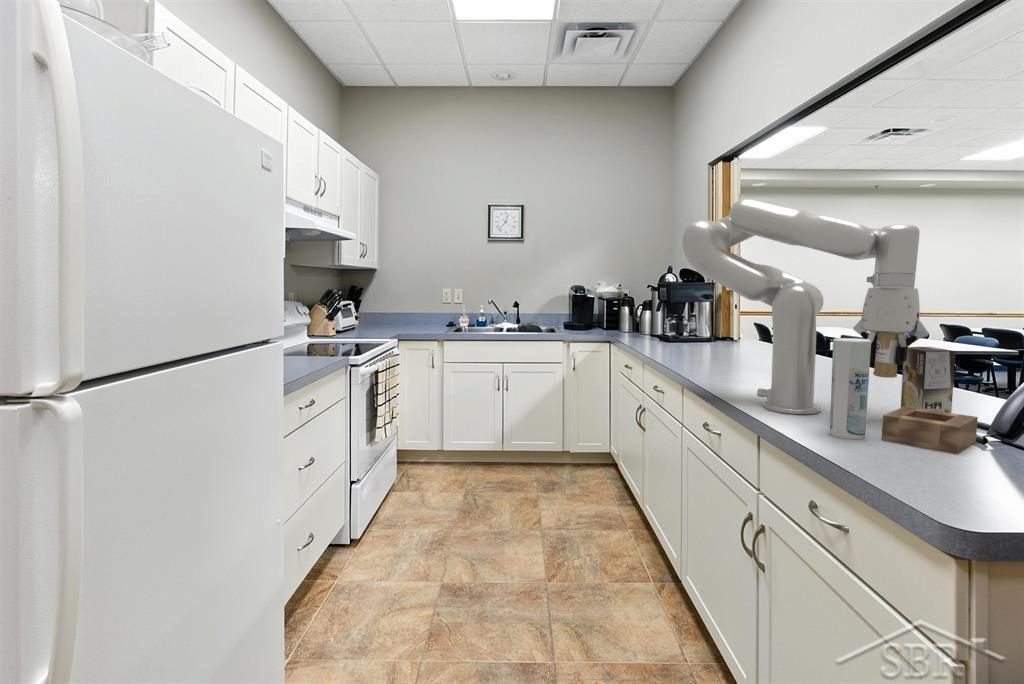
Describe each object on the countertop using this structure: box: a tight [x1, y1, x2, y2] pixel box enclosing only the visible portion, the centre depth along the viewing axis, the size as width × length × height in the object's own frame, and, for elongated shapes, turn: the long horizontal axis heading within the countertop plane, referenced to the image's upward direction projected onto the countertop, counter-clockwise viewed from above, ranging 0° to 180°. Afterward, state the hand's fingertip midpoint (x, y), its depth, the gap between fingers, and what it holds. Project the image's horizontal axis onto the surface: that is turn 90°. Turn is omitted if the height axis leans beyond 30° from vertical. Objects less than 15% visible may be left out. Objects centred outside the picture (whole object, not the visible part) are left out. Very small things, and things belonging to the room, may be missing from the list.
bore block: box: [881, 407, 979, 455], centre depth 104 cm, size 12×12×5 cm
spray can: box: [829, 337, 871, 440], centre depth 108 cm, size 6×6×20 cm
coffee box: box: [900, 346, 956, 413], centre depth 123 cm, size 9×6×16 cm
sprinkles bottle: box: [872, 332, 900, 379], centre depth 119 cm, size 5×5×14 cm
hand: (886, 361), depth 119 cm, fingers closed on sprinkles bottle, 4 cm apart
